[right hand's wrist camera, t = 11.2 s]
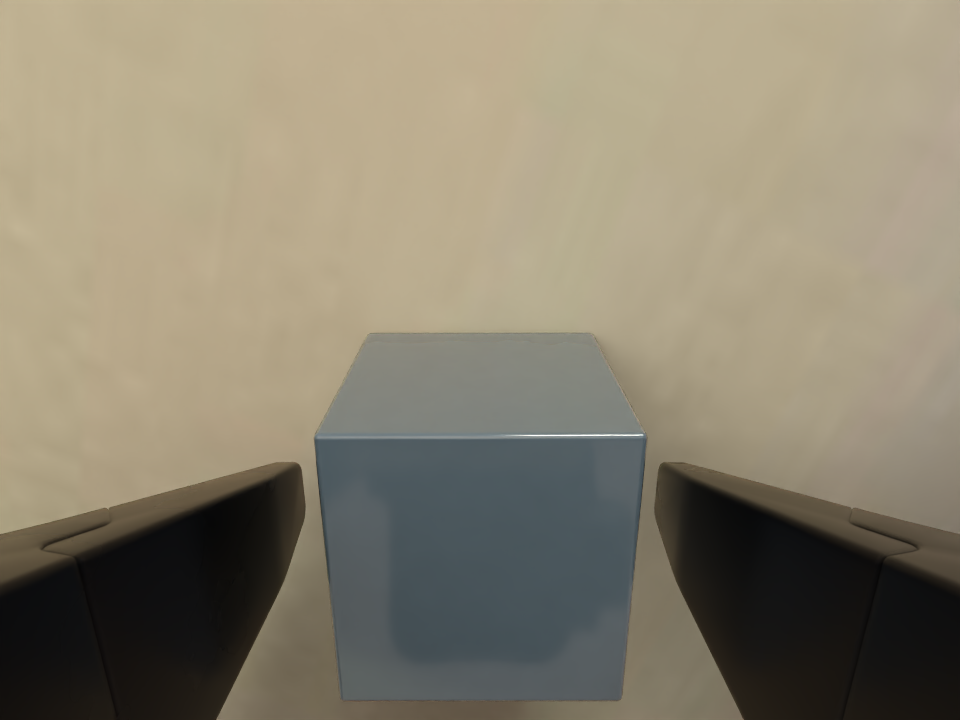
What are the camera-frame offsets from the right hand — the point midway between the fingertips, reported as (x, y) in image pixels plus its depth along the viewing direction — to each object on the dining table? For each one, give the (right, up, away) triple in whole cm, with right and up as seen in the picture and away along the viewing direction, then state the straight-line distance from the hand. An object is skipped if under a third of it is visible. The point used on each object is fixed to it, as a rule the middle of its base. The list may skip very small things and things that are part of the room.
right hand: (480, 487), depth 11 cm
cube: (0, +1, +2) cm, 2 cm away
